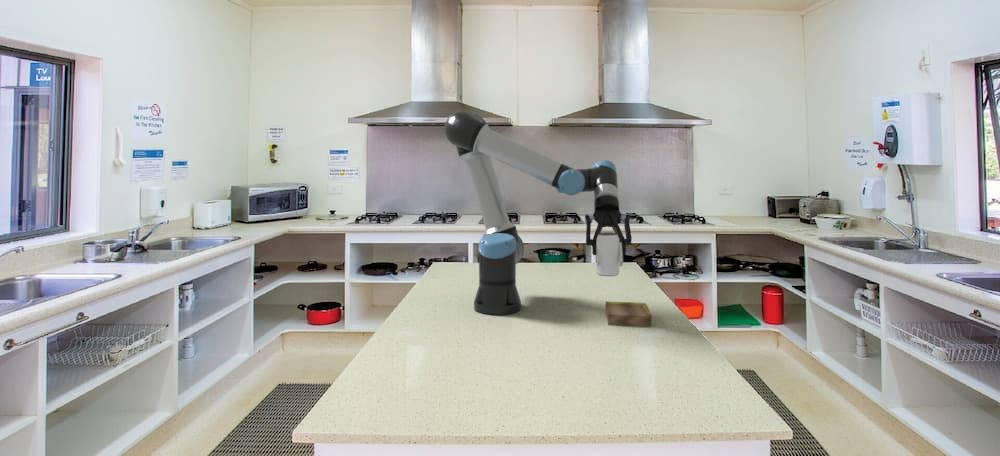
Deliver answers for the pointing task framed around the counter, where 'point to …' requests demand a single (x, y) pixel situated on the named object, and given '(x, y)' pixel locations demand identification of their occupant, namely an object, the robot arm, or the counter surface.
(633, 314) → the dock
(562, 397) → the counter surface
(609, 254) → the can
